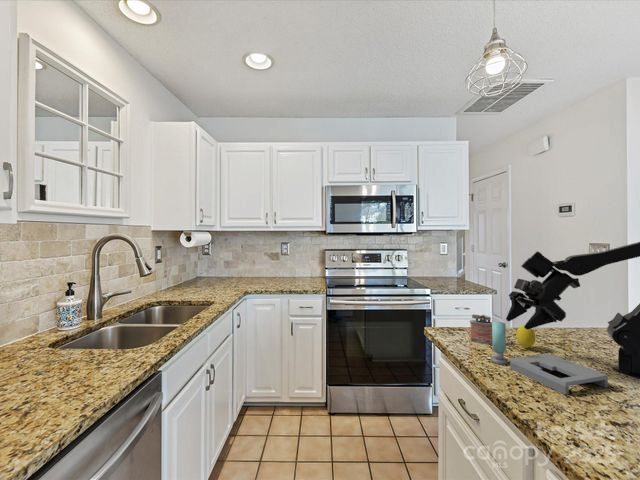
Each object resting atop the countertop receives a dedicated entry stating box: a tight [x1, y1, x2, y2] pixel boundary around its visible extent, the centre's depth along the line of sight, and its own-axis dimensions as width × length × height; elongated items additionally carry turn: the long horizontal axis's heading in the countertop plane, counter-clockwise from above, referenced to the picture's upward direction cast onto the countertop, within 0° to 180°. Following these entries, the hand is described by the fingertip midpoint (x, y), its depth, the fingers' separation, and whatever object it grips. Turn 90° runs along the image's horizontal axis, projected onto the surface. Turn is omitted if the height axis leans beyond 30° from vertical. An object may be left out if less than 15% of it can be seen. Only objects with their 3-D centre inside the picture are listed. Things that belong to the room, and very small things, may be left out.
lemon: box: [515, 324, 536, 349], centre depth 108 cm, size 6×6×8 cm
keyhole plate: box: [509, 352, 609, 396], centre depth 86 cm, size 14×16×3 cm
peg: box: [490, 321, 509, 366], centre depth 97 cm, size 4×4×12 cm
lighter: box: [469, 314, 492, 345], centre depth 115 cm, size 8×3×10 cm, turn 58°
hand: (515, 324), depth 97 cm, fingers open, 9 cm apart
